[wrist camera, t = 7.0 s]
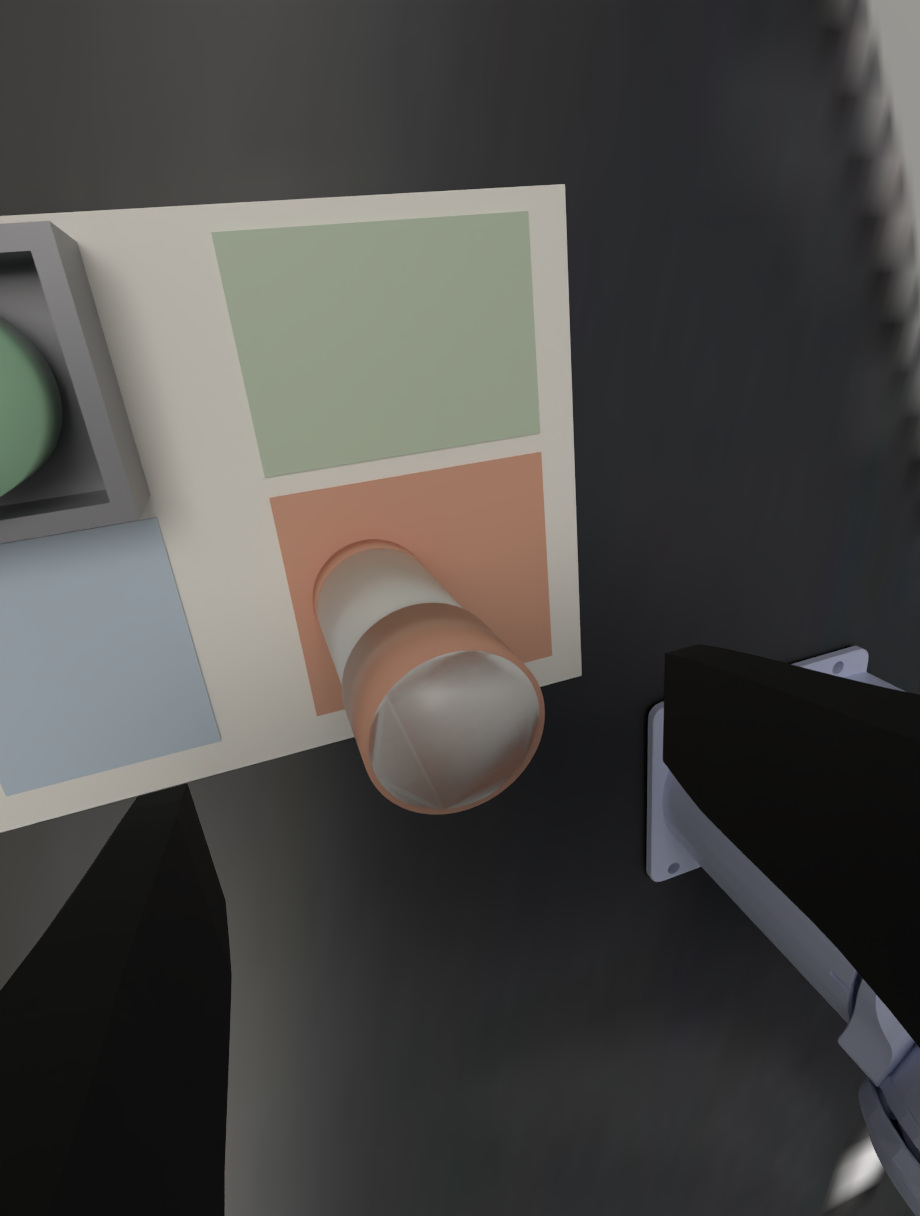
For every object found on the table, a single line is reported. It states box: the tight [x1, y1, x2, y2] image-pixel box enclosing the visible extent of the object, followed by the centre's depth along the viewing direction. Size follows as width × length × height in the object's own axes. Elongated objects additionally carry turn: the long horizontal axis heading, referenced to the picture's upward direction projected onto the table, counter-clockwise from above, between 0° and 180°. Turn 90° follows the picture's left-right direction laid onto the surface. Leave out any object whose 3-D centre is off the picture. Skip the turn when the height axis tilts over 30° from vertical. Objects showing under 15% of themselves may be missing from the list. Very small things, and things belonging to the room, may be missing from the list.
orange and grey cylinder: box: [312, 539, 545, 815], centre depth 14 cm, size 3×3×7 cm
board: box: [0, 184, 582, 832], centre depth 16 cm, size 16×13×1 cm
